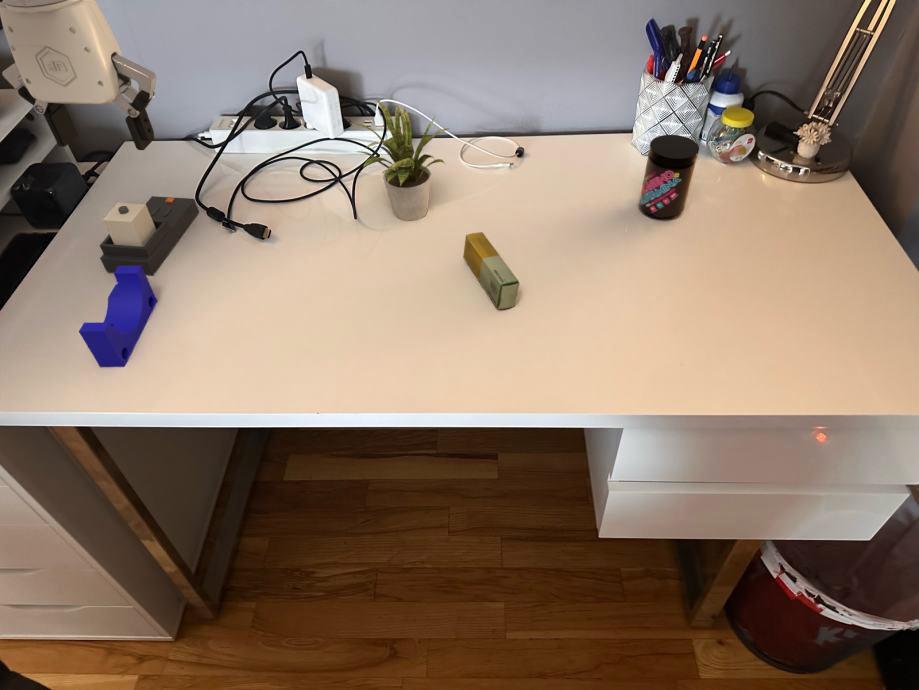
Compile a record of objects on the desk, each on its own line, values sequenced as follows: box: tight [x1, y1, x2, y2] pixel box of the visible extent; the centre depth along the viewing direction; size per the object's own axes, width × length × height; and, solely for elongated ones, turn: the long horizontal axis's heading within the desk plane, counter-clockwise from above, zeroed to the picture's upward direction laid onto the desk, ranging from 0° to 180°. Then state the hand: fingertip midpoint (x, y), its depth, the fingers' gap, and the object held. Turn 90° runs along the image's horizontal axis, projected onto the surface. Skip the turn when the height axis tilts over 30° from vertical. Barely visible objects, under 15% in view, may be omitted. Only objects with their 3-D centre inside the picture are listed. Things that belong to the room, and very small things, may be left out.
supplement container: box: [638, 134, 700, 221], centre depth 98 cm, size 7×7×10 cm
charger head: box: [102, 202, 156, 247], centre depth 93 cm, size 4×4×6 cm
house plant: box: [351, 98, 449, 222], centre depth 98 cm, size 14×14×16 cm
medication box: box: [462, 231, 520, 311], centre depth 89 cm, size 12×3×4 cm, turn 23°
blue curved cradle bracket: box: [78, 266, 158, 368], centre depth 84 cm, size 12×4×6 cm, turn 179°
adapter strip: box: [99, 195, 200, 276], centre depth 98 cm, size 7×16×4 cm, turn 172°
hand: (107, 142), depth 79 cm, fingers open, 9 cm apart
